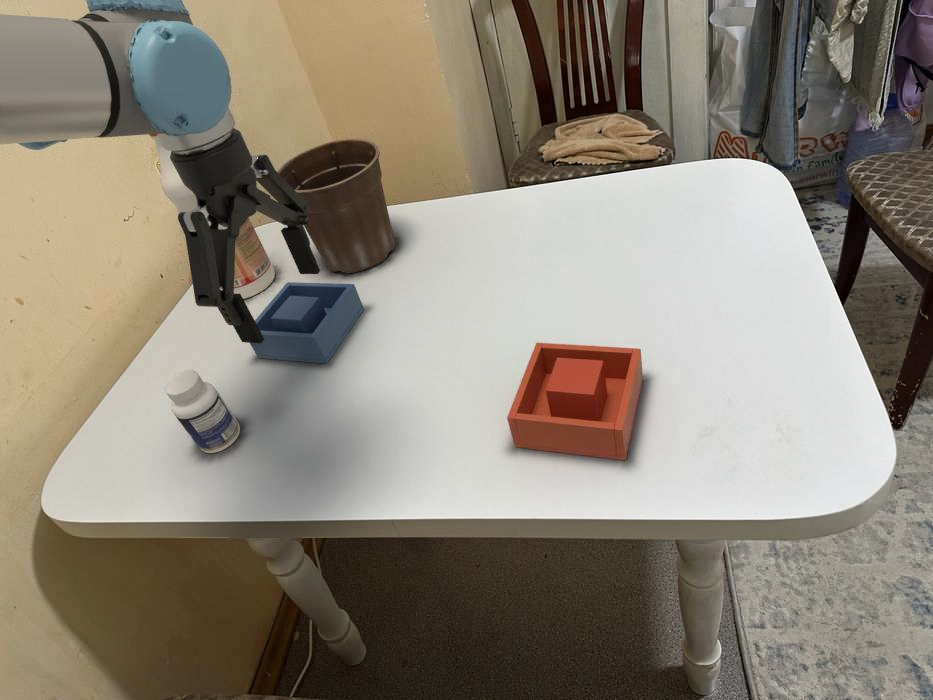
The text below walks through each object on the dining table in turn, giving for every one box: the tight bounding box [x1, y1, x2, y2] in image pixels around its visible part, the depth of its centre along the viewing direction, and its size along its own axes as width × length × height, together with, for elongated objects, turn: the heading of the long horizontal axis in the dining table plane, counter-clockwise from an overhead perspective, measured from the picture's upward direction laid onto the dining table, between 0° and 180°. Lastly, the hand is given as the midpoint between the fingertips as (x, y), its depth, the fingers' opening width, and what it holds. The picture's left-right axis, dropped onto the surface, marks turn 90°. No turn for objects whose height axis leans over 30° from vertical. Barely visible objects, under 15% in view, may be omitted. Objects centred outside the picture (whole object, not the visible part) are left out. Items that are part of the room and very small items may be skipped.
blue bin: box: [249, 281, 365, 364], centre depth 93 cm, size 12×12×5 cm
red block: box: [546, 358, 607, 422], centre depth 69 cm, size 5×5×5 cm
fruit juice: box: [148, 134, 276, 300], centre depth 100 cm, size 9×9×28 cm
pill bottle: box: [164, 369, 241, 454], centre depth 78 cm, size 5×5×10 cm
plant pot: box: [276, 138, 396, 274], centre depth 103 cm, size 16×16×16 cm
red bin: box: [506, 342, 644, 461], centre depth 70 cm, size 12×12×5 cm
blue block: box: [271, 296, 327, 334], centre depth 91 cm, size 5×5×5 cm
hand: (283, 305), depth 81 cm, fingers open, 13 cm apart
